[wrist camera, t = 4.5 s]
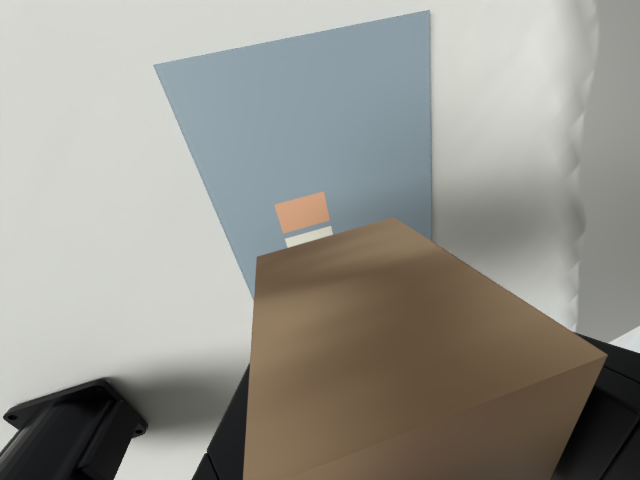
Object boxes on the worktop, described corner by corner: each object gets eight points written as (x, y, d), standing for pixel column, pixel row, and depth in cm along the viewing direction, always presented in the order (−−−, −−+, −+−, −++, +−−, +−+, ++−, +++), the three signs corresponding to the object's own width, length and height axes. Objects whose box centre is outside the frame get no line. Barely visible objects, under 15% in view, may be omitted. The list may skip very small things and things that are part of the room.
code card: (261, 317, 18) (261, 319, 18) (155, 66, 11) (152, 64, 11) (430, 264, 20) (431, 265, 19) (427, 11, 13) (429, 9, 13)
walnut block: (294, 355, 10) (326, 597, 5) (256, 256, 8) (241, 496, 3) (402, 319, 11) (538, 503, 5) (394, 217, 9) (607, 354, 3)
